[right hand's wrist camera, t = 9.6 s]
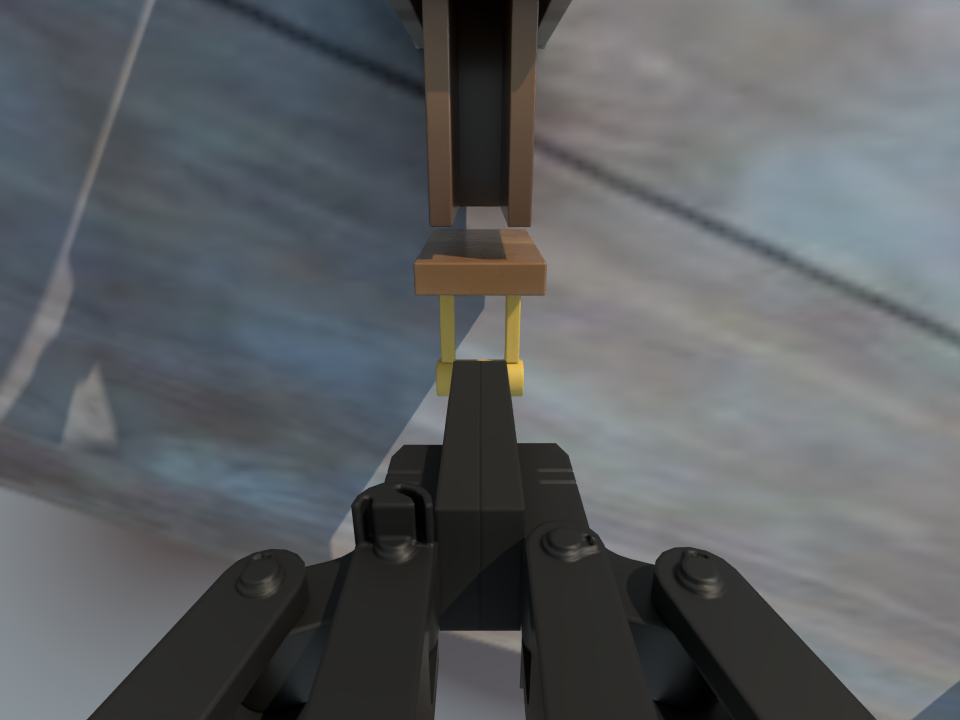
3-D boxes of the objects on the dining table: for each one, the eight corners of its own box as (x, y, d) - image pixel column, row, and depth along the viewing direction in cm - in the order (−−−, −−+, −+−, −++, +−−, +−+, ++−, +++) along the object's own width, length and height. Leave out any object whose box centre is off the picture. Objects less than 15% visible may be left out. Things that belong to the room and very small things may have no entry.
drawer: (522, 351, 29) (539, 429, 21) (437, 351, 29) (420, 429, 21) (542, -269, 20) (587, -569, 12) (418, -269, 20) (374, -569, 12)
